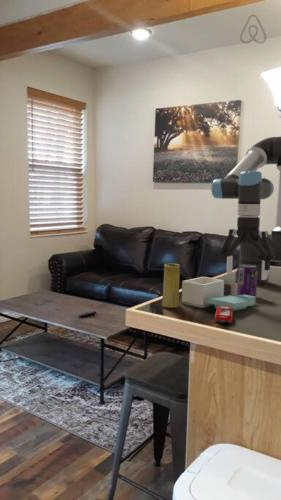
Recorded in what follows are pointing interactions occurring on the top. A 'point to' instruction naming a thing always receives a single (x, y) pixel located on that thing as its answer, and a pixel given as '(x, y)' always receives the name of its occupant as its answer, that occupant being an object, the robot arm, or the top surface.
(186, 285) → the tub
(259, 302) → the top surface
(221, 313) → the race car
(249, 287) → the beverage can
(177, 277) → the vase
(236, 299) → the block
